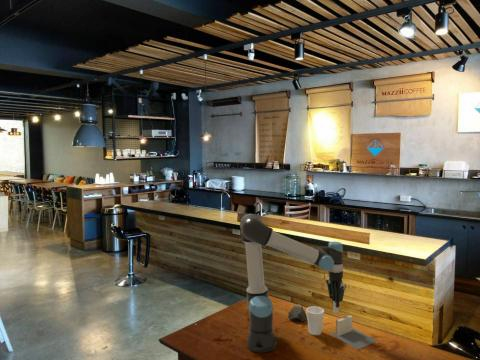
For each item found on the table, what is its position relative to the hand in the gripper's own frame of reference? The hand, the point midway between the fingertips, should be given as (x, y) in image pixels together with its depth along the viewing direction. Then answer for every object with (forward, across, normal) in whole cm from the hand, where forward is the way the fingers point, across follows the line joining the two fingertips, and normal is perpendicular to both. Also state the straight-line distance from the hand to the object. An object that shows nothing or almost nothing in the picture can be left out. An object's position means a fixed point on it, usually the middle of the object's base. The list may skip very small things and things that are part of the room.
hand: (335, 312), depth 205 cm
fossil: (+9, +21, +10) cm, 26 cm away
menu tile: (+9, -6, 0) cm, 11 cm away
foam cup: (+9, +2, +13) cm, 17 cm away
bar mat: (+9, -13, 0) cm, 16 cm away
